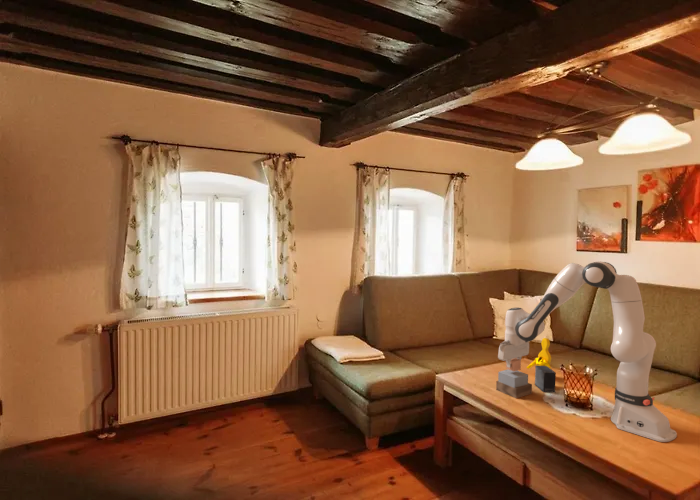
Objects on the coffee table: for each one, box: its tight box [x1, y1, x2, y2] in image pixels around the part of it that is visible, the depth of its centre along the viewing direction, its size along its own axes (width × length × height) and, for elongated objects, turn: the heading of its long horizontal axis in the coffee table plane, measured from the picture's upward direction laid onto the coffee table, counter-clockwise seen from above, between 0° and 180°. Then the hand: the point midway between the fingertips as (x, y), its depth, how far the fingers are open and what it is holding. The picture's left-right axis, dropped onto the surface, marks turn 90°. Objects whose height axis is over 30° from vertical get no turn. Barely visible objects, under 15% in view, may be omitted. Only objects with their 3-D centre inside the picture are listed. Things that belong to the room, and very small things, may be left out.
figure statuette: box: [526, 337, 553, 370], centre depth 225 cm, size 18×8×22 cm, turn 29°
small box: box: [534, 365, 557, 393], centre depth 210 cm, size 11×6×10 cm, turn 179°
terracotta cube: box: [505, 358, 522, 371], centre depth 206 cm, size 5×5×5 cm
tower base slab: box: [495, 380, 533, 399], centre depth 206 cm, size 12×12×5 cm
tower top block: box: [497, 369, 529, 388], centre depth 206 cm, size 10×10×5 cm
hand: (513, 366), depth 206 cm, fingers closed on terracotta cube, 5 cm apart
